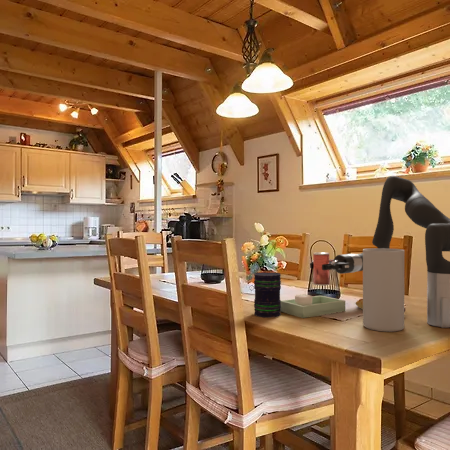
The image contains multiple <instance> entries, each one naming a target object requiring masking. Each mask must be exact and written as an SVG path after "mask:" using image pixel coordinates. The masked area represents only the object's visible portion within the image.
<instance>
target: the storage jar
mask: <svg viewBox="0 0 450 450" xmlns="http://www.w3.org/2000/svg"><path fill="white" fill-rule="evenodd" d="M281 276H282V275H281V273H280V272H275V271H274V272H270V271H267V272H266V271H262V272H254V275H253V284H254V287H253V288H254V300H253V301H254V302H253V303H254V304H253V309H254V313H253V314H254V316H255V317H258V318H259V317H260V318H264V319H265V318H278V317H281V314H282V312H280V311H281V309H280V308H281V301H282V300H281V289H282V288H281V284H282V280H281V279H282V278H281Z"/></svg>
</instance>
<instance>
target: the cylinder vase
mask: <svg viewBox="0 0 450 450" xmlns="http://www.w3.org/2000/svg"><path fill="white" fill-rule="evenodd" d="M362 253H363V271H362V299H363V309H362V324H363V326H364V327H365V328H367V329H368V330H372V331H376V332H377V331H378V332H385V333H386V332H387V333H389V332H390V333H391V332H392V333H393V332H400V331H402V330H403V329H404V328H405V312H404V308H405V249H400V248H389V249H385V248H363V249H362Z"/></svg>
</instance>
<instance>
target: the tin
mask: <svg viewBox="0 0 450 450" xmlns="http://www.w3.org/2000/svg"><path fill="white" fill-rule="evenodd" d="M312 254H313V256H312V259H313V260H312V261H313V262H312V263H313V283H312V284H313V285H314V286H321V287H323V286H331V284H330V280H331V279H330V270H322V265H323V264H329V260H330V252H324V251H323V252H322V251H321V252H312Z"/></svg>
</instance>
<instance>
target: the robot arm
mask: <svg viewBox="0 0 450 450" xmlns="http://www.w3.org/2000/svg"><path fill="white" fill-rule="evenodd" d="M392 199H393V200H396V201H399V202H403V203H404V212H405V214H406V216H407V217H408V218H409V219H410V220H411V222H413V223H414V224H415V225H417V226H420V227H421V228H424V229H426V230H425V231H424V232H425V233H424V243H425V244H424V245H425V246H424V247H425V262H426V272H427V273H426V286H427V287H426V323H427V324H428V325H430V326H433V327H439V328H442V329H444V328H450V260H447V259H446V258H445V257H444V255H443V252H450V217H448V216H446V215H445V214H444V213H443V212H442V211H441V210H439V209H438V207H436V206H435V205H434V204H433V203H432V201H430V200H429V199H428V198H427V197H425V196H424V194H422V192H420V191H419V189H418V188H417V186H416V185H415V184H414V182H413V181H411V180H409V179H406V178H403V177H400V176H397V175H389V176H388V177H387V178H386V180H385V181H384V183H383V186H382V190H381V198H380V204H379V212H378V218H377V219H378V220H377V223H376V227H375V230H374V234H373V238H372V240H371V241H372V242H371V243H372V245H373V246H374V247H377V248H385V249H391V247H390V245H391V241H392V239H393V235H394V231H395V228H394V220H393V216H392V212H391V202H392ZM309 268H310V269H313V262H310V263H309ZM322 270H329V271H334V272H336V273H337V274H340V275H341V274H343V275H344V274H350V273H355V272H363V252H362V253H345V254H337V255H336V256H334V258H333V259H330V258H329V264H323V265H322Z"/></svg>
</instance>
